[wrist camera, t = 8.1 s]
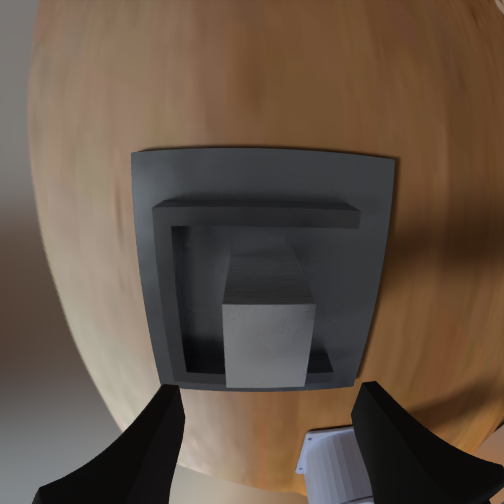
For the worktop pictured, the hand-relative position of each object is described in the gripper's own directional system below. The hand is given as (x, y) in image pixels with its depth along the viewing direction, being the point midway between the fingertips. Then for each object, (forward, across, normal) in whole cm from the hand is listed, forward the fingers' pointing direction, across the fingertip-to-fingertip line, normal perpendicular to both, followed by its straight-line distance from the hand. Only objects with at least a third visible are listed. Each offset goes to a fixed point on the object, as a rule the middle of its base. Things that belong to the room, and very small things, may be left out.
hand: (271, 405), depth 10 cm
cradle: (+10, 0, 0) cm, 10 cm away
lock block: (+9, 0, 0) cm, 9 cm away
